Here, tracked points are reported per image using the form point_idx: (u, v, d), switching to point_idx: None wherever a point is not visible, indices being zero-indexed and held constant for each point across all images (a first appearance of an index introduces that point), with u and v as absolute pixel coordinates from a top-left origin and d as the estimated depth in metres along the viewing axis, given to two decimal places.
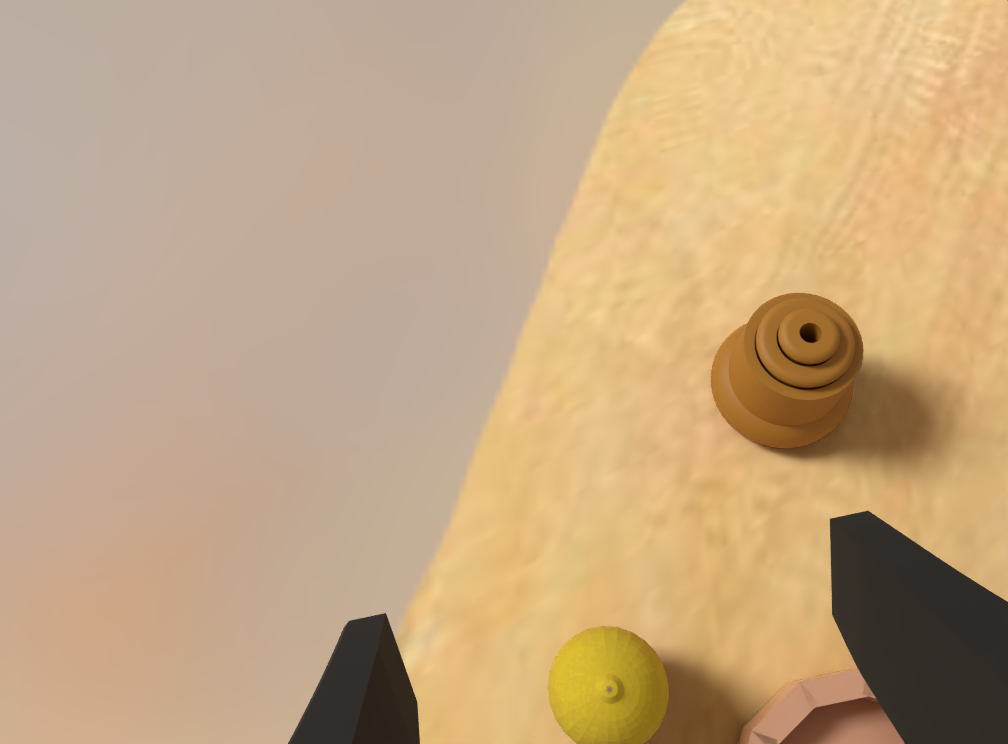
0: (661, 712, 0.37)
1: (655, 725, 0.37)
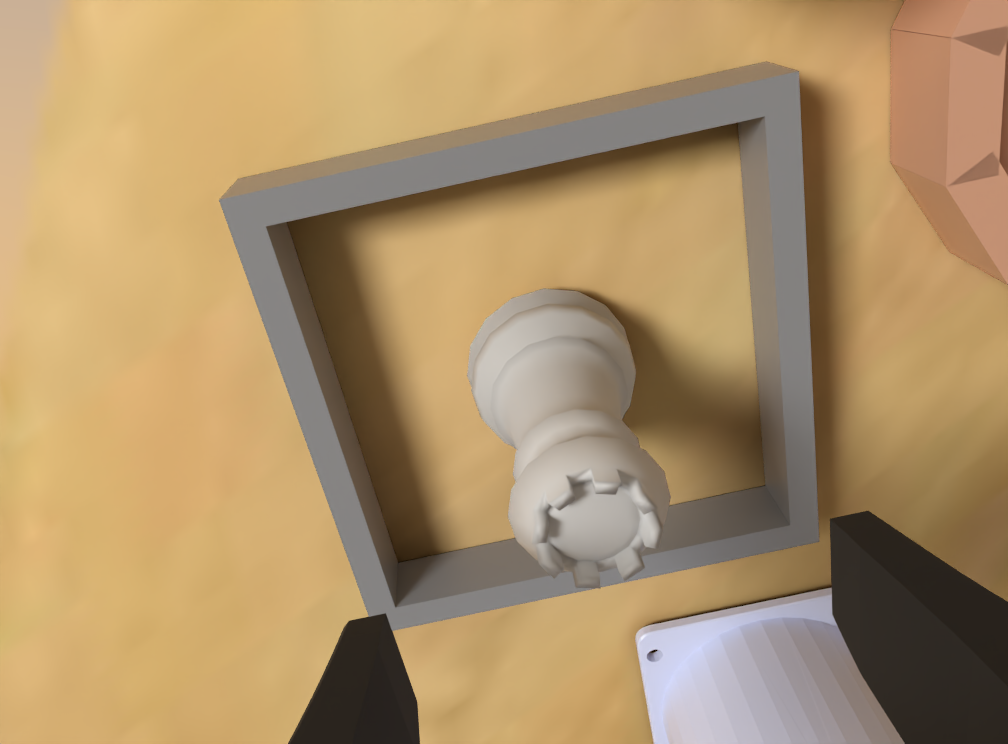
0: None
1: None
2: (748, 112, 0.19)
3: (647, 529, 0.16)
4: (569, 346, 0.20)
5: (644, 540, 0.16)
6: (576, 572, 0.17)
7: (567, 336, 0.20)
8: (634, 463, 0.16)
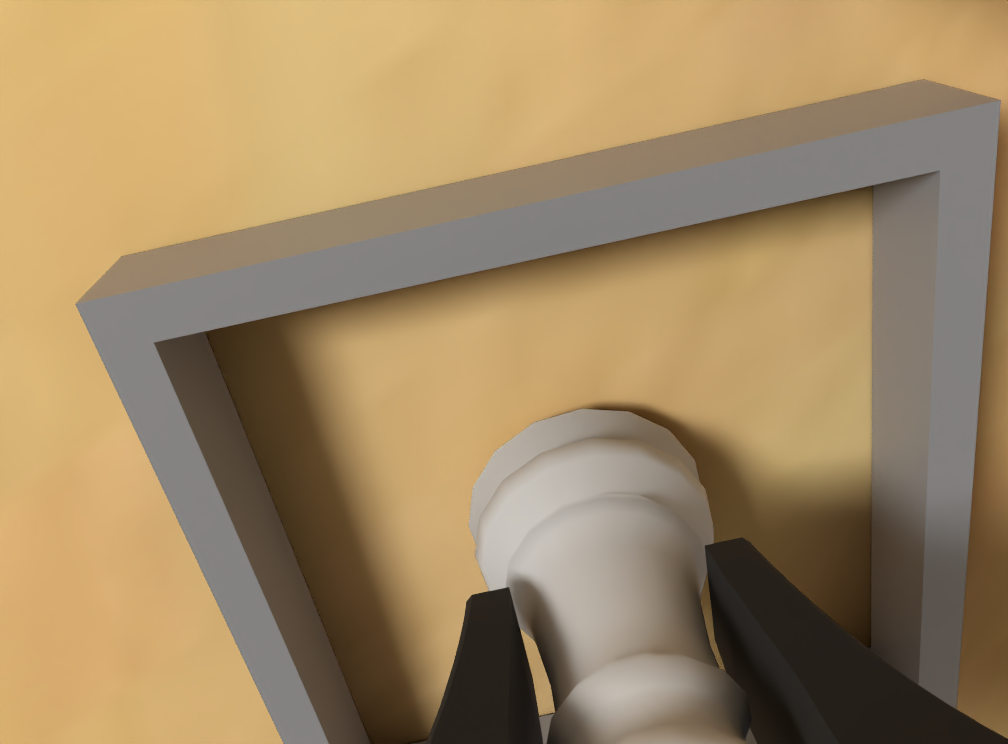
0: None
1: None
2: (915, 164, 0.12)
3: None
4: (625, 510, 0.13)
5: None
6: None
7: (620, 493, 0.14)
8: None
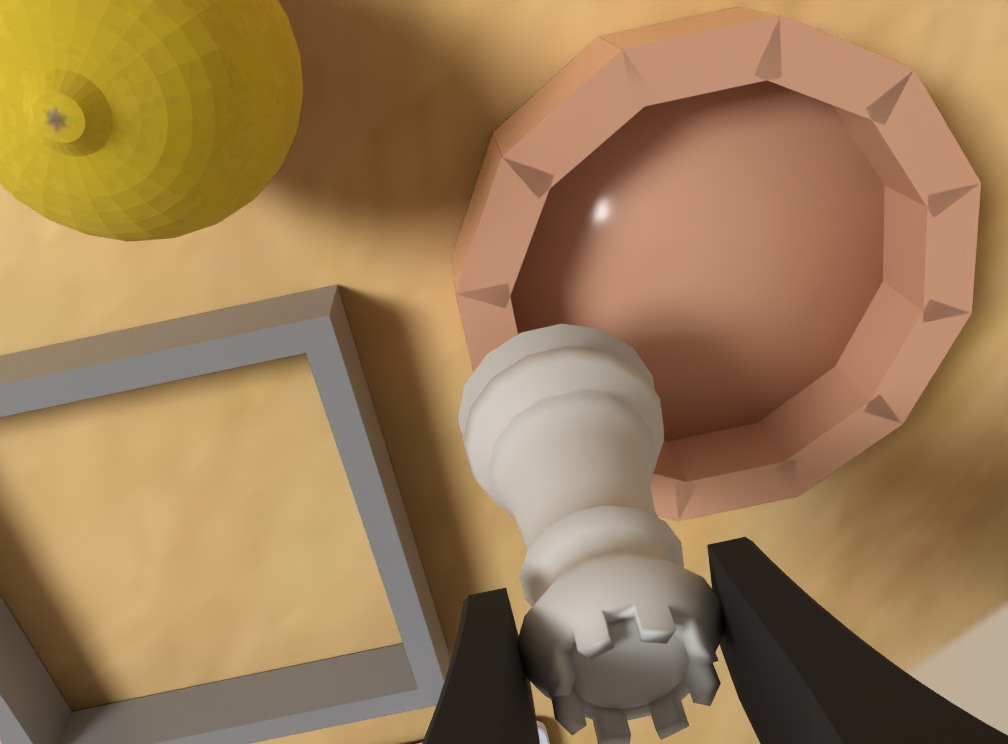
0: (260, 152, 0.14)
1: (247, 183, 0.14)
2: (289, 349, 0.20)
3: (698, 682, 0.12)
4: (593, 404, 0.16)
5: (692, 693, 0.13)
6: (599, 723, 0.13)
7: (591, 391, 0.16)
8: (689, 597, 0.12)
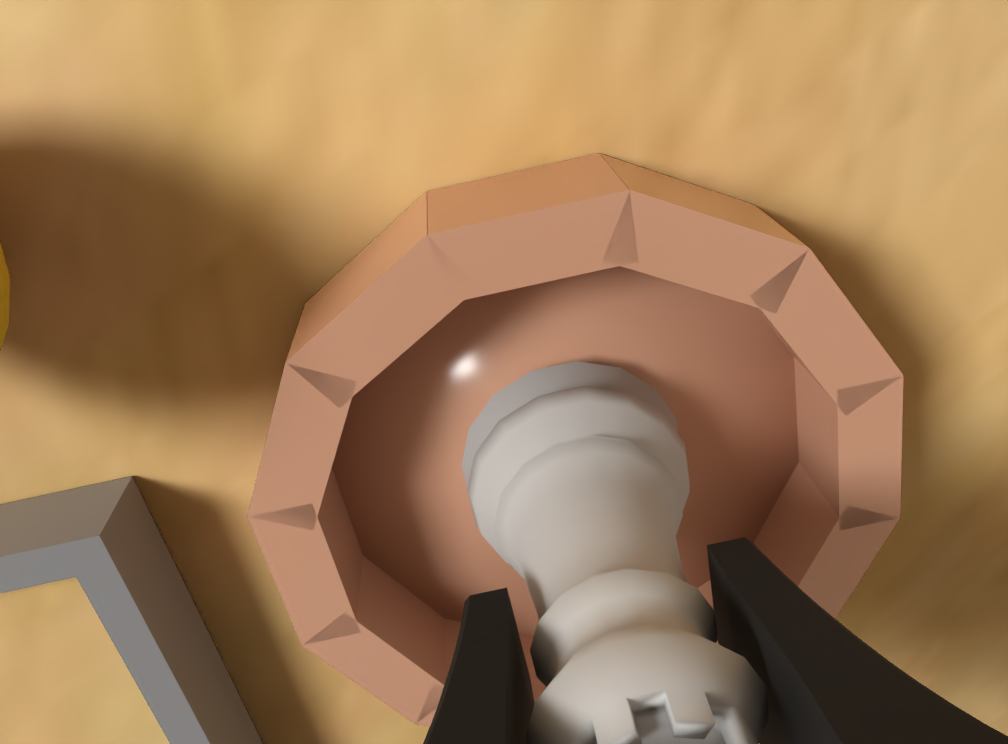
0: None
1: None
2: (55, 573, 0.16)
3: None
4: (612, 451, 0.14)
5: None
6: None
7: (609, 436, 0.15)
8: (729, 681, 0.11)
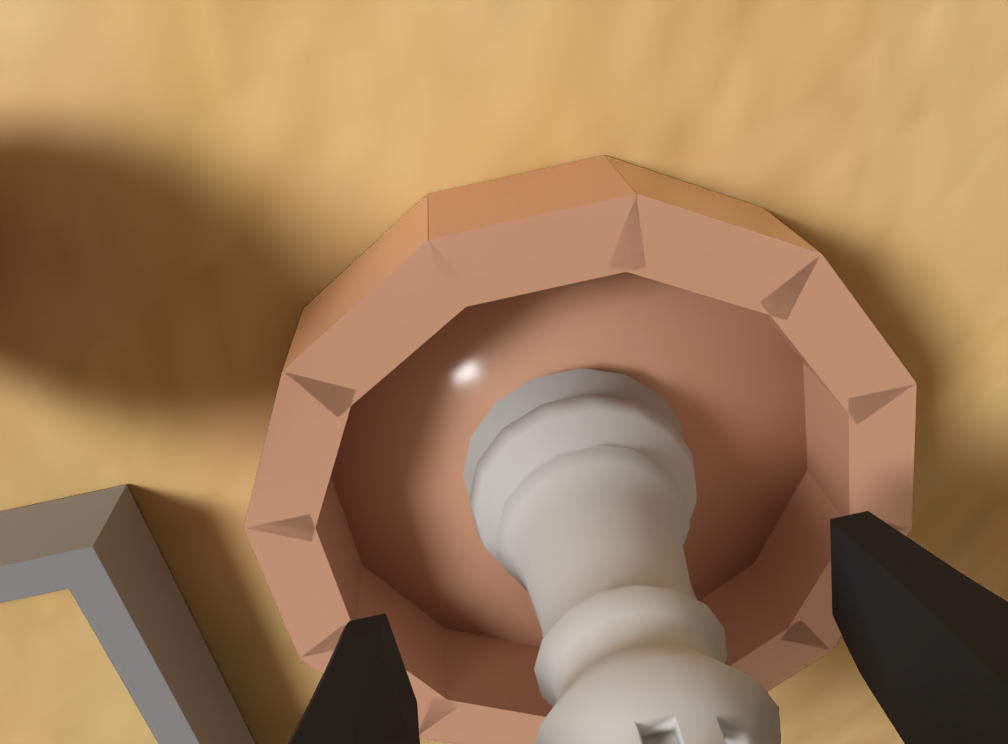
0: None
1: None
2: (47, 585, 0.16)
3: None
4: (618, 462, 0.14)
5: None
6: None
7: (615, 446, 0.14)
8: (740, 705, 0.10)
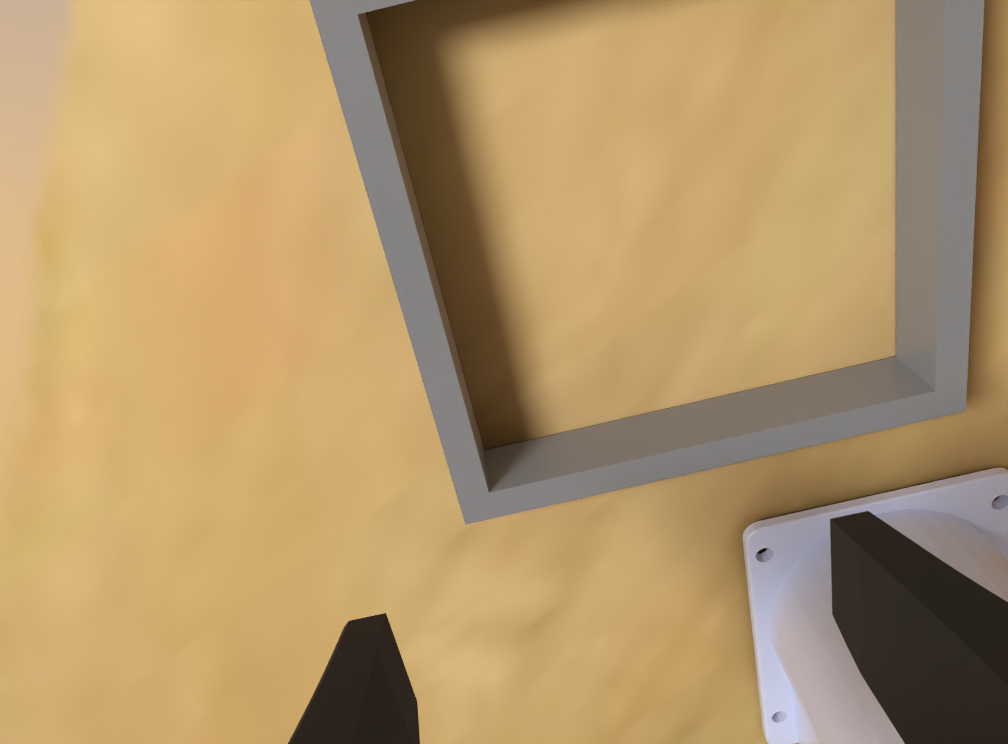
0: None
1: None
2: None
3: None
4: None
5: None
6: None
7: None
8: None
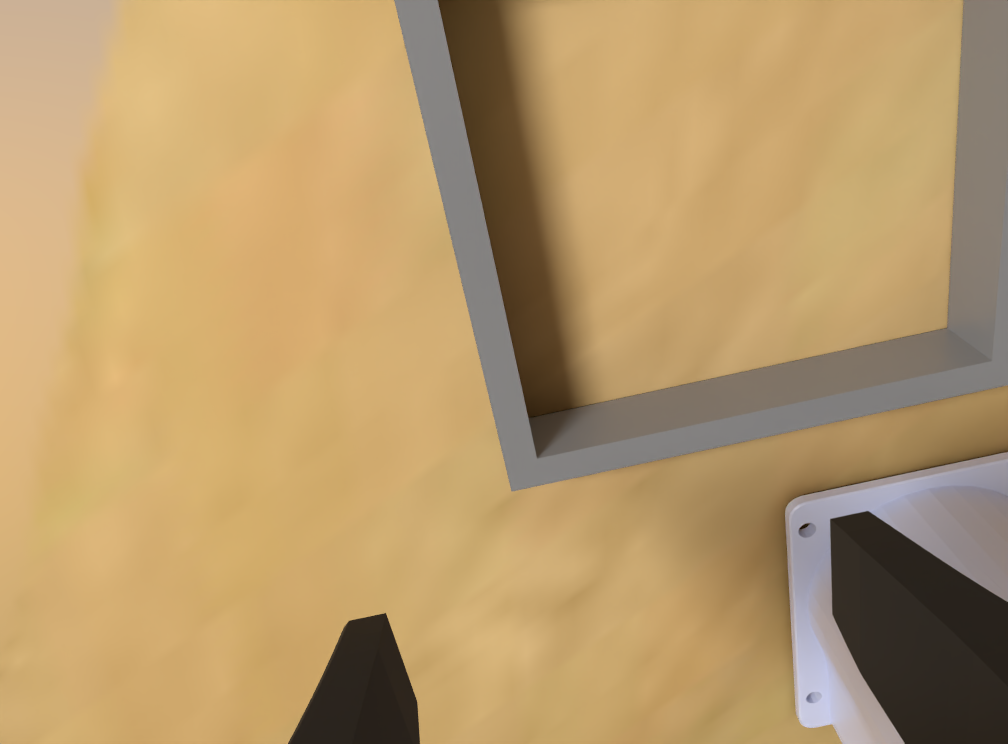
0: None
1: None
2: None
3: None
4: None
5: None
6: None
7: None
8: None
